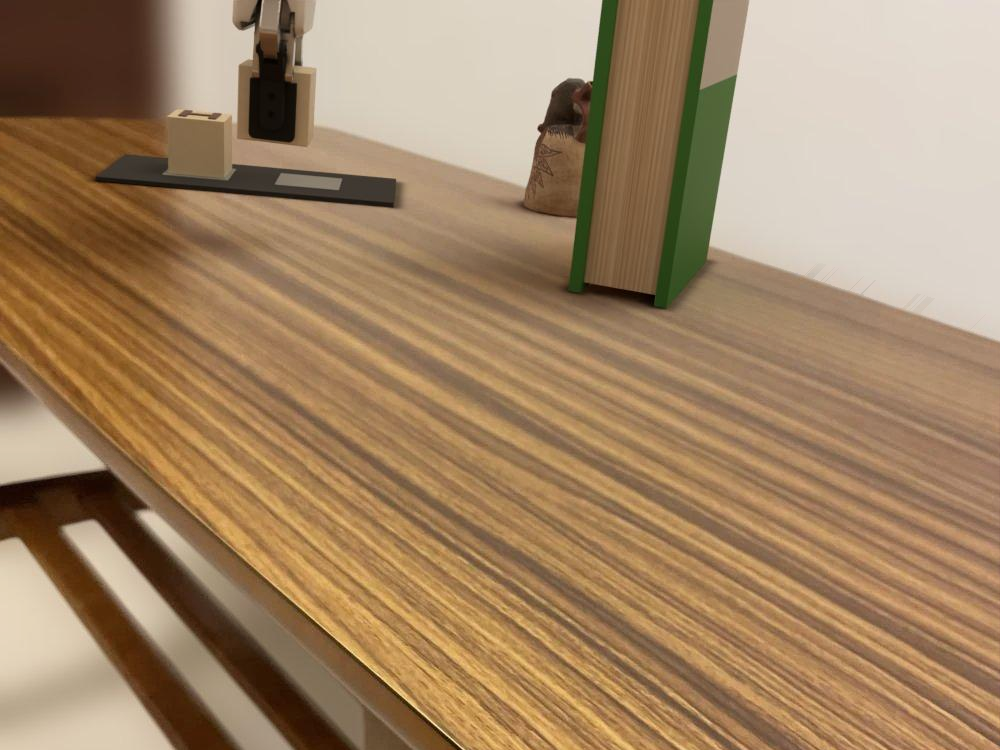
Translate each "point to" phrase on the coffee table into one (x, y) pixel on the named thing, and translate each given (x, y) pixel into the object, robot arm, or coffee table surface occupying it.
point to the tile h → (199, 143)
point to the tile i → (304, 104)
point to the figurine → (560, 151)
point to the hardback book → (655, 142)
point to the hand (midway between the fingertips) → (276, 131)
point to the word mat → (257, 181)
